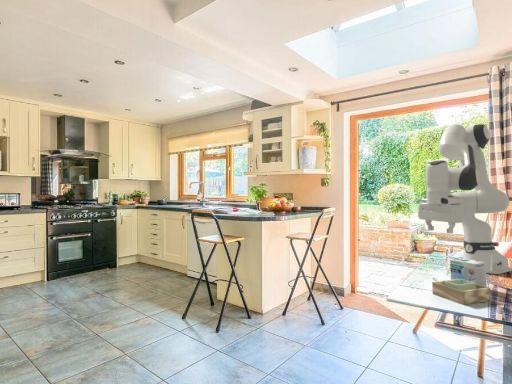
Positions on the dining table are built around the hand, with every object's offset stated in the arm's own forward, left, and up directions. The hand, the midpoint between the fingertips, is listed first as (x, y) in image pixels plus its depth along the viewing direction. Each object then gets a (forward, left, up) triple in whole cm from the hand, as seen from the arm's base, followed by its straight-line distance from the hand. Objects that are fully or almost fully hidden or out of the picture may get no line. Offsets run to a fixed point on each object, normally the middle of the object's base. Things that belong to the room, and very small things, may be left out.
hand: (440, 231), depth 132 cm
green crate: (+7, +15, -22) cm, 27 cm away
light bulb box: (-7, +6, -23) cm, 25 cm away
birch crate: (+7, +15, -23) cm, 28 cm away
